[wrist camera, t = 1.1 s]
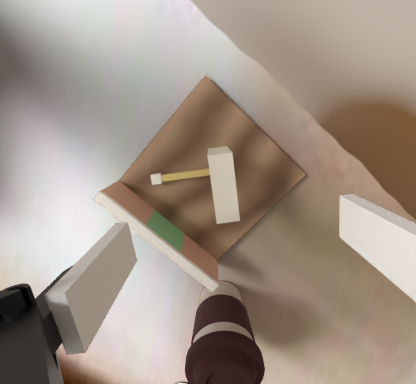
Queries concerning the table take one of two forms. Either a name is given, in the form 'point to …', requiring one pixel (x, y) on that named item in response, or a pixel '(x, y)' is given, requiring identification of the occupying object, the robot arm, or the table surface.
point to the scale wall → (159, 233)
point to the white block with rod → (214, 182)
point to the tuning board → (197, 159)
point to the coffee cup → (223, 341)
